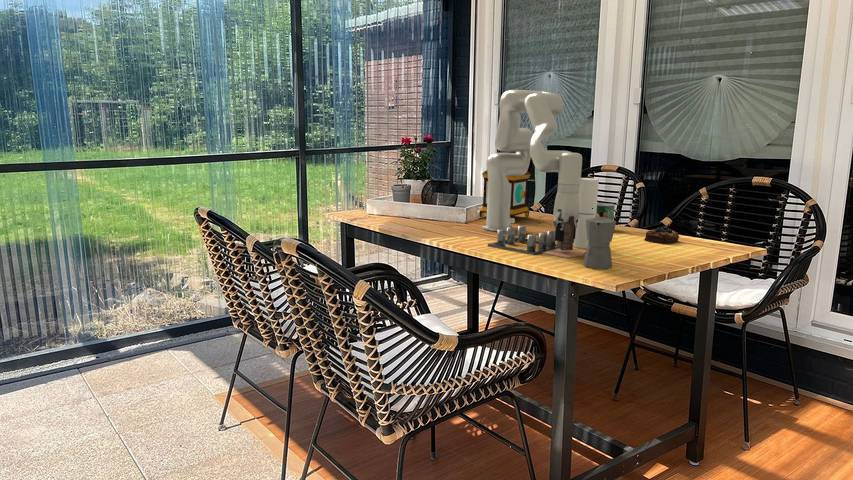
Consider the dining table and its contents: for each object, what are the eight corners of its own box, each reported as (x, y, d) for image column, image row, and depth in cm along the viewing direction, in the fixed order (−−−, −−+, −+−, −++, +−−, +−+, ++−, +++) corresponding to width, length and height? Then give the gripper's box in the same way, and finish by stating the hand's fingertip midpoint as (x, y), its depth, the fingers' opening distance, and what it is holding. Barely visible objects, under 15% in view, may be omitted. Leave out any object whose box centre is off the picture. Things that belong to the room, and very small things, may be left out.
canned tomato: (614, 229, 282) (616, 204, 280) (610, 232, 275) (612, 206, 273) (595, 227, 286) (597, 202, 284) (591, 230, 279) (593, 204, 277)
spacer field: (518, 239, 253) (519, 223, 252) (564, 247, 240) (565, 231, 239) (487, 246, 239) (488, 229, 238) (534, 254, 226) (535, 237, 225)
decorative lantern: (514, 223, 291) (517, 155, 286) (475, 218, 302) (477, 152, 296) (532, 217, 308) (536, 153, 302) (495, 213, 318) (498, 151, 313)
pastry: (641, 241, 258) (642, 226, 256) (654, 237, 266) (656, 223, 265) (668, 245, 250) (669, 230, 249) (681, 241, 259) (682, 227, 258)
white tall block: (569, 245, 245) (574, 178, 240) (585, 244, 247) (590, 177, 243) (581, 249, 238) (586, 180, 233) (597, 247, 241) (602, 179, 236)
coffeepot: (610, 272, 203) (614, 215, 200) (579, 269, 207) (583, 212, 203) (615, 262, 217) (619, 208, 214) (586, 259, 221) (590, 206, 217)
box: (556, 246, 232) (558, 213, 229) (568, 247, 232) (571, 213, 230) (560, 250, 226) (562, 215, 223) (573, 250, 226) (575, 216, 224)
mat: (560, 249, 237) (561, 247, 237) (585, 253, 230) (585, 252, 230) (542, 253, 228) (542, 252, 228) (568, 258, 221) (568, 257, 221)
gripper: (572, 186, 234) (568, 235, 237) (545, 189, 221) (542, 241, 224) (591, 188, 229) (587, 238, 232) (565, 192, 216) (561, 244, 219)
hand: (565, 239), depth 228 cm, fingers closed on box, 7 cm apart
